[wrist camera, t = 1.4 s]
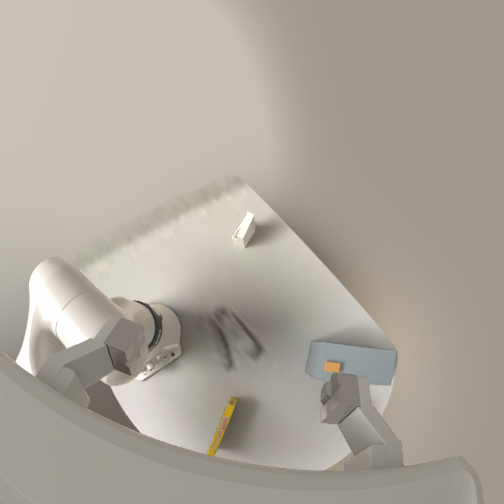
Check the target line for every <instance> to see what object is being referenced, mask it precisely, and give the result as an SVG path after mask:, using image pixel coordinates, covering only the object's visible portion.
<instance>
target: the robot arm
mask: <svg viewBox="0 0 504 504" xmlns="http://www.w3.org/2000/svg"><path fill="white" fill-rule="evenodd" d="M29 291H30V308H29V317H28V323H27V329H26V333H25V338H24V342H23V345H22V348H21V351H20V353H19V355H18V358H17V360H16V362H15V361H13V360H12V359H11V358H9V357H8V356H7V355H6V354H4V353H3V352H2V351H1V350H0V504H484V503H483V494H482V488H481V483H480V479H479V476H478V474H477V472H476V471H475V469H474V468H473V467H472V466H471V465H470V464H469V463H468V462H467V461H466V460H465V459H464V458H463V457H461V456H454V457H450V458H446V459H442V460H438V461H433V462H428V463H422V464H417V465H410V466H404V465H403V454H402V445H401V441H400V440H399V439H398V438H397V436H396V435H395V434H394V432H393V431H392V430H391V428H390V427H389V426H388V424H387V423H386V422H385V421H384V419H383V418H382V417H381V415H380V414H379V413H378V412H377V410H376V409H375V408H374V407H372V406H371V398H370V391H369V384H368V378H367V377H366V376H360V375H354V374H345V373H337V372H335V373H333V374H332V375H331V377H330V379H331V380H330V381H328V382H326V383H325V385H324V386H323V389H322V392H321V402H322V404H323V405H324V406H323V408H322V409H321V423H330V424H338V427H339V428H340V430H341V432H342V434H343V436H344V437H345V439H346V441H347V443H348V445H349V447H350V448H351V450H352V452H353V454H354V457H352V458H351V459H349V460H347V461H346V462H344V471H312V470H296V469H285V468H276V467H268V466H261V465H254V464H248V463H243V462H237V461H232V460H228V459H223V458H218V457H214V456H210V455H206V454H202V453H199V452H195V451H191V450H188V449H184V448H181V447H178V446H175V445H172V444H169V443H166V442H163V441H160V440H157V439H154V438H152V437H149V436H146V435H144V434H141V433H139V432H136V431H134V430H131V429H129V428H127V427H124V426H122V425H120V424H117V423H115V422H113V421H111V420H109V419H107V418H105V417H103V416H101V415H98V414H97V413H95V412H92V411H91V410H89V409H87V406H88V404H89V402H90V398H89V397H88V395H87V393H86V392H85V390H84V389H86V388H87V387H89V386H91V385H92V384H94V383H95V382H97V381H99V380H101V381H103V382H104V383H106V384H107V385H110V386H119V385H123V384H126V383H129V382H131V381H132V380H134V379H136V380H139V381H143V380H145V379H146V378H148V377H149V376H151V375H152V374H154V373H155V372H157V371H158V370H160V369H161V368H163V367H164V366H166V365H167V364H169V363H170V362H172V361H173V360H175V359H176V358H177V357H179V356H180V355H181V346H180V336H181V326H180V322H179V319H178V317H177V316H176V314H175V313H174V312H173V311H172V310H171V309H170V308H169V307H167V306H165V305H162V304H146V303H143V302H140V301H132V300H129V299H126V298H123V297H114V298H111V299H109V298H108V297H107V296H106V295H105V294H103V293H102V292H101V291H100V290H98V289H97V288H96V287H95V286H94V285H93V284H92V283H91V281H90V280H89V279H88V278H87V277H86V276H85V275H84V274H83V273H82V272H81V271H80V270H79V269H77V268H76V267H74V266H73V265H71V264H70V263H68V262H67V261H65V260H63V259H62V258H58V257H53V258H49V259H47V260H45V261H43V262H41V263H40V264H39V265H38V266H37V267H36V269H35V270H34V272H33V273H32V275H31V278H30V283H29ZM172 353H174V356H172ZM151 370H152V371H151Z"/></svg>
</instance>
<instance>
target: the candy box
mask: <svg viewBox="0 0 504 504" xmlns="http://www.w3.org/2000/svg"><path fill="white" fill-rule="evenodd" d="M236 402H237V399H236V398H234V397H230V399H229V402H228V404H227V406H226V408H225V411H224V413H223V416H222V418H221V420H220V423H219V425H218V428H217V430H216V432H215V435H214V437H213V440H212V442H211V445H210V447H209V450H208V453H207V455H210V456H215V454H216V451H217V449H218V447H219V445H220V442H221V440H222V438H223V435H224V433H225V431H226V428H227V426H228V423H229V421H230V418H231V416H232V413H233V411H234V408H235V406H236Z"/></svg>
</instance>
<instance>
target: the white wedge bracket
mask: <svg viewBox="0 0 504 504" xmlns="http://www.w3.org/2000/svg"><path fill="white" fill-rule="evenodd" d="M254 232H255V217H254V214H252V213H250V212H247V214H246V216H245V219H244V220H243V221H242V223H241V224H240V226H239V227H238V229H237V230H236V232H235V234H234V235H233V237H232V240H233V242H235V243H236V244H238V245H240V246H242V247H244V248H245V247H246V245H247V243H248V242H249V240H250V239H251V237H252V235H253V234H254Z"/></svg>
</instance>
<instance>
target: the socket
mask: <svg viewBox="0 0 504 504" xmlns="http://www.w3.org/2000/svg"><path fill="white" fill-rule="evenodd" d="M396 354H397V351H395V350H385V349H375V348H366V347H357V346H349V345H342V344H335V343H328V342H313V341H311V346H310V351H309V356H308V361H307V366H306V370H305V372H306V373H308V374H309V375H310V376H312V377H313V378H314V379H321V380H329V381H330V380H331V379H330V377H331V375H332V374H333V373H335V372H337V373H345V374H354V375H360V376H366V377H367V378H368V384H375V385H391V381H392V376H393V371H394V365H395V360H396Z"/></svg>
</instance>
